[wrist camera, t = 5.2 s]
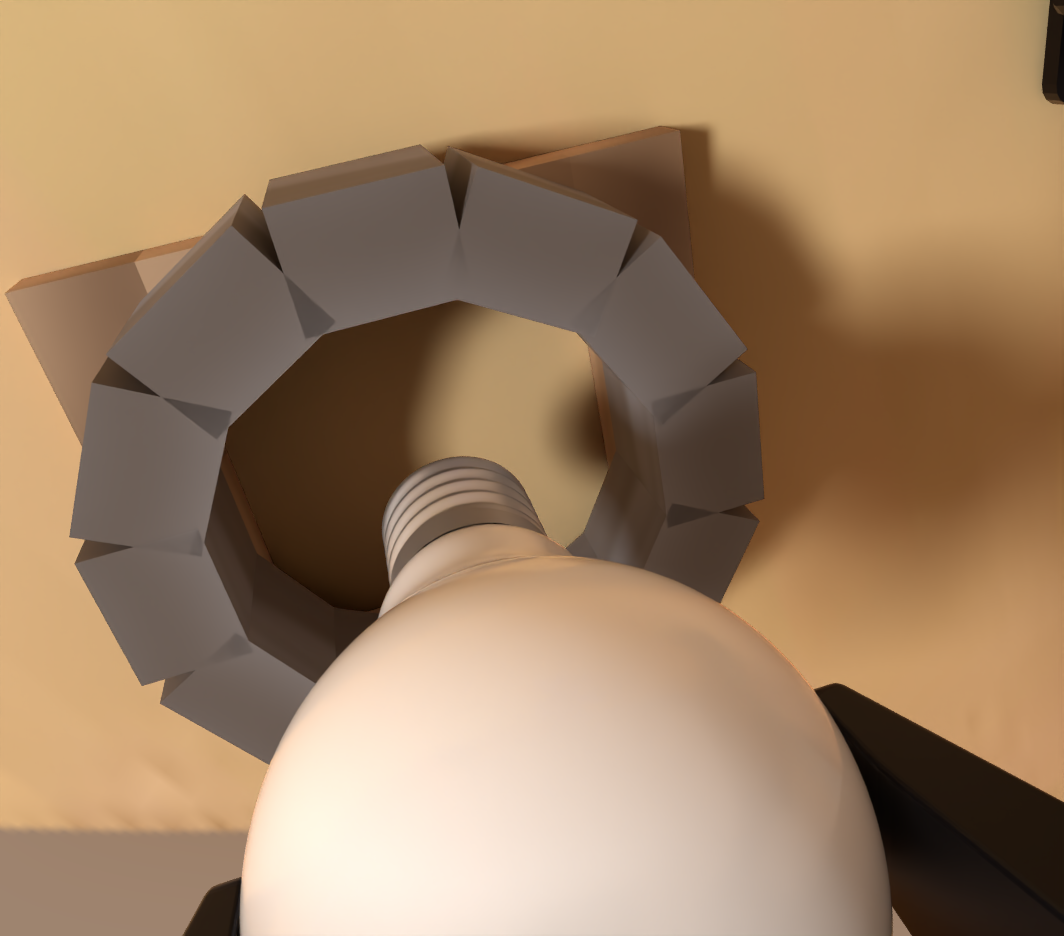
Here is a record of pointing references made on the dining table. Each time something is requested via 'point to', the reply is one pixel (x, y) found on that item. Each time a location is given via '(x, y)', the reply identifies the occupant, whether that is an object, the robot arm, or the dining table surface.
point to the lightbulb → (555, 754)
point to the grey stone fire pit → (357, 298)
